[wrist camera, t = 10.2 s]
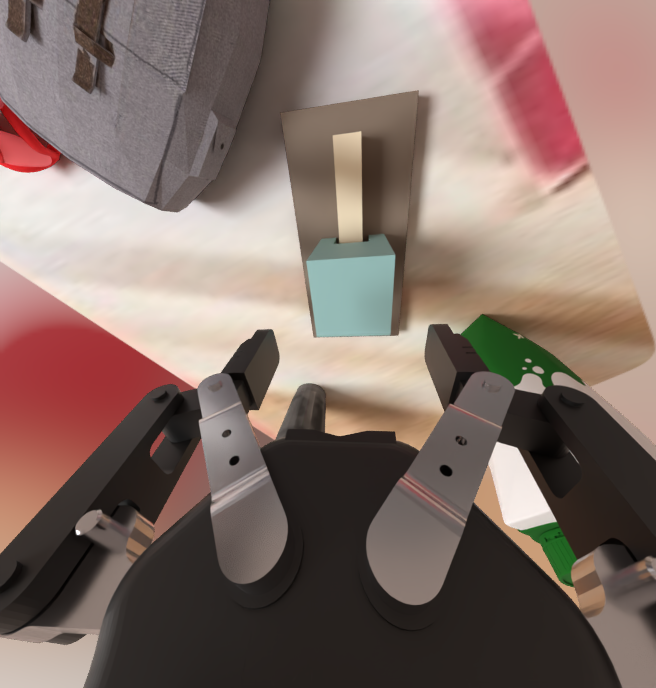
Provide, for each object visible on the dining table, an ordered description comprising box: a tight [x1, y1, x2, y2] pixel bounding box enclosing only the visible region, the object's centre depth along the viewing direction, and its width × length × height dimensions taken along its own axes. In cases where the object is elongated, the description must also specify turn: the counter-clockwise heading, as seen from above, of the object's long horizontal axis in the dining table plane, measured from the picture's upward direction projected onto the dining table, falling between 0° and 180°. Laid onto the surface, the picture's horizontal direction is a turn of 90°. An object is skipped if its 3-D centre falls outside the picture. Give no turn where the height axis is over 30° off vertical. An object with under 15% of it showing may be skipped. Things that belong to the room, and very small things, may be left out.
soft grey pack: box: [0, 0, 270, 212], centre depth 14 cm, size 15×8×20 cm
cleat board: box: [280, 90, 419, 337], centre depth 22 cm, size 20×10×3 cm, turn 5°
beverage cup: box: [275, 384, 326, 440], centre depth 28 cm, size 7×7×20 cm
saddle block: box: [306, 234, 395, 337], centre depth 20 cm, size 6×6×8 cm
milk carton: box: [461, 314, 656, 587], centre depth 20 cm, size 9×9×20 cm
